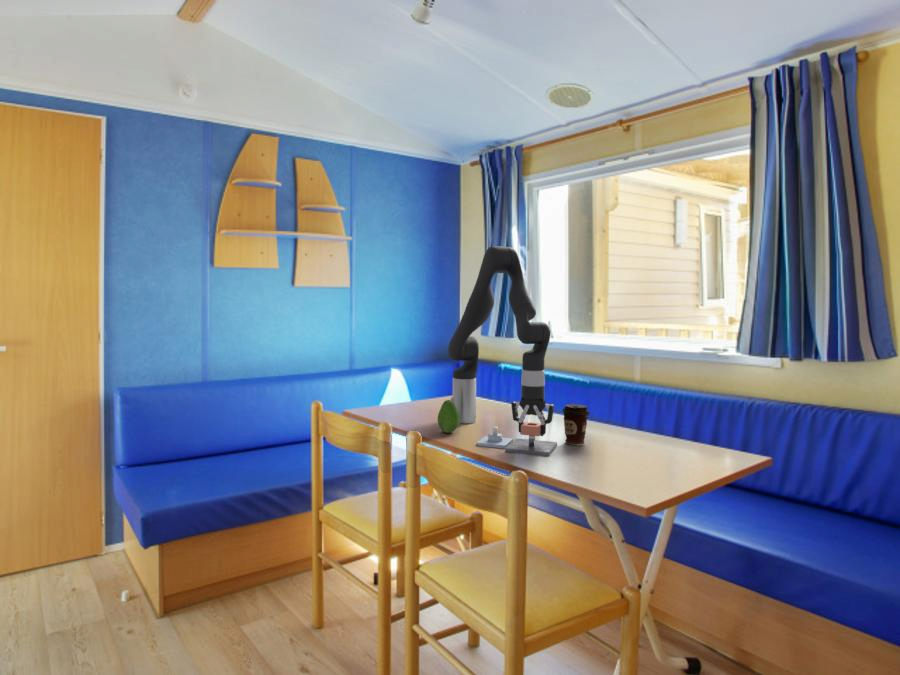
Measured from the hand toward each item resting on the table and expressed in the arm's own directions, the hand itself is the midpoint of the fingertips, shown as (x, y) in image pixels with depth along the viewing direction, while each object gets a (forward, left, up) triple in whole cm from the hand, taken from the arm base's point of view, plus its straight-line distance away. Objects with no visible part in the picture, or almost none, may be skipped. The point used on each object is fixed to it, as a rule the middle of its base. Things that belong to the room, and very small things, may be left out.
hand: (532, 434), depth 200 cm
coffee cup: (+12, +12, -5) cm, 18 cm away
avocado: (-33, +11, -5) cm, 35 cm away
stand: (-13, +2, -5) cm, 14 cm away
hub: (0, 0, -5) cm, 5 cm away
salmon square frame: (0, 0, 0) cm, 0 cm away
